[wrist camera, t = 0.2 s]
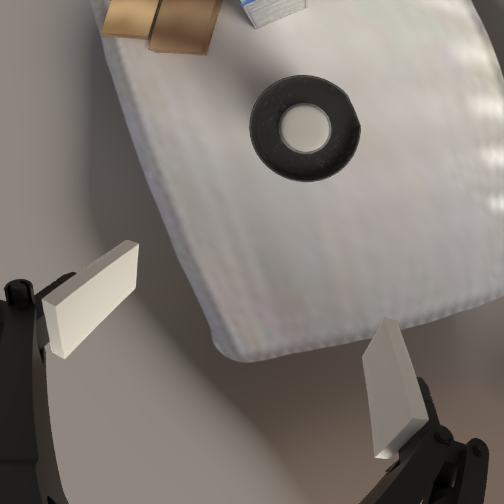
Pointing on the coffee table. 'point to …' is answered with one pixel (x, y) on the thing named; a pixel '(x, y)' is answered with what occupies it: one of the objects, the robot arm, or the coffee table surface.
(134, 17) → the plank
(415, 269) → the coffee table surface
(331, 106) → the travel mug
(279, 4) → the medicine box
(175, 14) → the laid strip
